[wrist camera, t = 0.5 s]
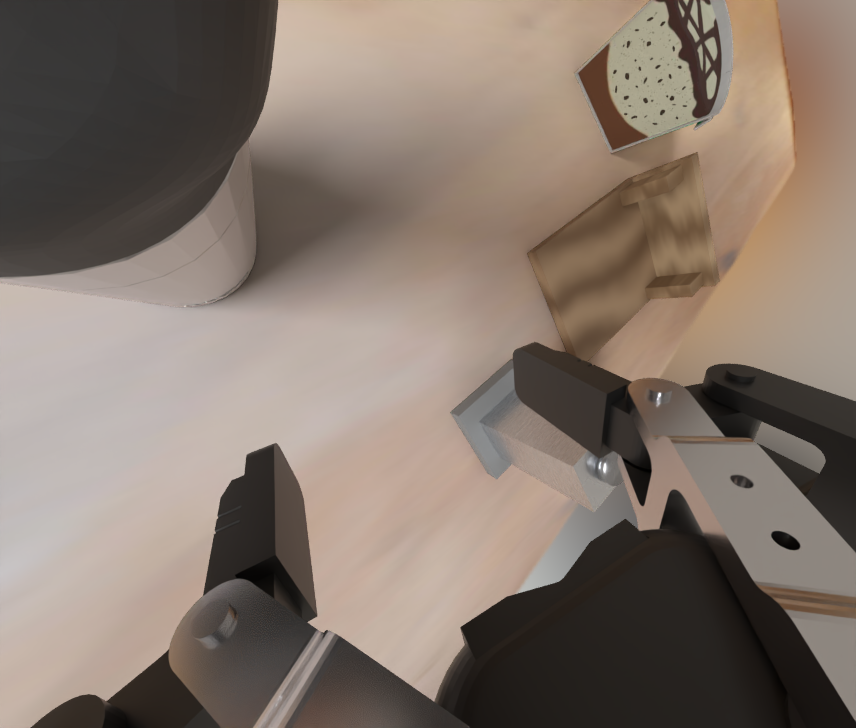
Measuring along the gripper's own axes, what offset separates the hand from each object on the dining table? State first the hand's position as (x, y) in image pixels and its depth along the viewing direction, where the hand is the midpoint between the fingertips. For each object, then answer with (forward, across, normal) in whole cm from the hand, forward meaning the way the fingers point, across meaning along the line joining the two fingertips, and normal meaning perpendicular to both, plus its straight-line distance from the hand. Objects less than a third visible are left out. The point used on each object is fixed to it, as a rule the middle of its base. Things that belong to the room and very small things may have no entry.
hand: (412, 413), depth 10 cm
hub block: (+14, -13, +16) cm, 25 cm away
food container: (+25, -37, -11) cm, 46 cm away
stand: (+16, -13, +17) cm, 26 cm away
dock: (+20, -32, +6) cm, 39 cm away
